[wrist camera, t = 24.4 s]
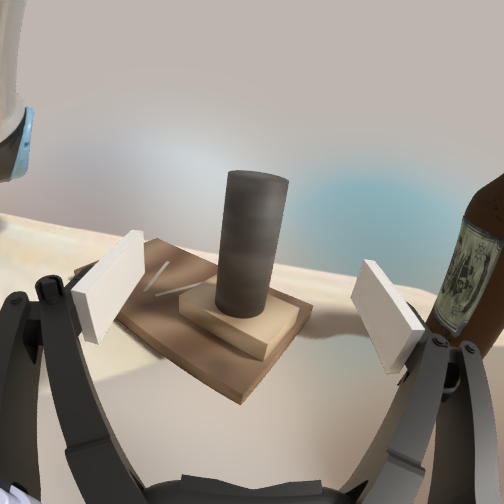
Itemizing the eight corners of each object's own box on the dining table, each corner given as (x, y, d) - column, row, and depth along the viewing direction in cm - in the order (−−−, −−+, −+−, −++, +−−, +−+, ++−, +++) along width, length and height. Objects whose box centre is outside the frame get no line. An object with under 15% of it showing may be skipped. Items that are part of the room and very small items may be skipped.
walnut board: (76, 281, 28) (73, 270, 27) (157, 247, 39) (157, 237, 38) (240, 405, 18) (242, 394, 17) (309, 316, 29) (313, 305, 28)
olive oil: (459, 325, 29) (518, 154, 19) (491, 376, 20) (576, 172, 9) (404, 320, 30) (464, 120, 19) (432, 382, 20) (531, 126, 10)
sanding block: (179, 313, 24) (184, 168, 19) (218, 288, 29) (232, 164, 24) (263, 361, 20) (300, 196, 15) (294, 324, 25) (329, 187, 20)
